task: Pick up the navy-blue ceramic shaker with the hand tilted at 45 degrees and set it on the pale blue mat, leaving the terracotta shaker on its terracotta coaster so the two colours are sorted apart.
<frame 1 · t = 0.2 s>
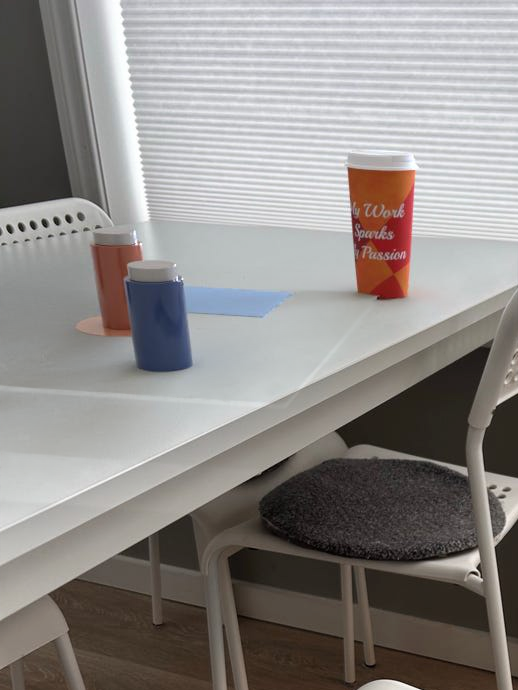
blue mat: (213, 303, 97), on the table
red shaker: (127, 324, 87), resting on terracotta coaster
terracotta coaster: (128, 328, 87), on the table
blue shaker: (165, 368, 77), on the table
paper cup: (383, 295, 105), on the table
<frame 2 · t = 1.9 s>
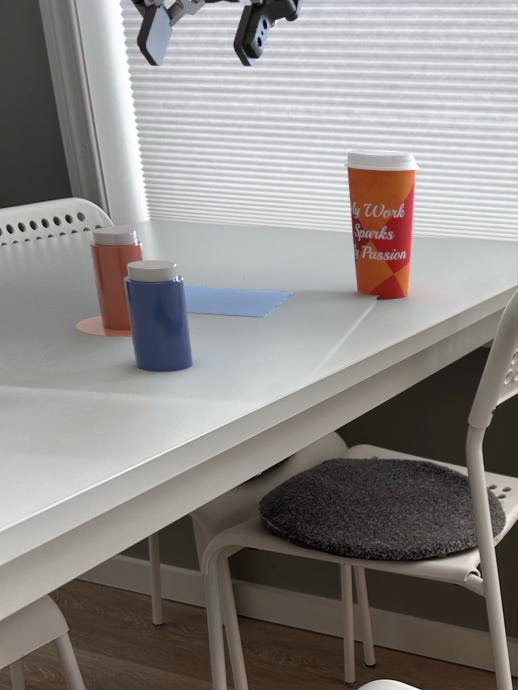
hand: (195, 58, 74), 22 cm above the table, tool tilted 40°, fingers open, 8 cm apart
nothing on the table moved.
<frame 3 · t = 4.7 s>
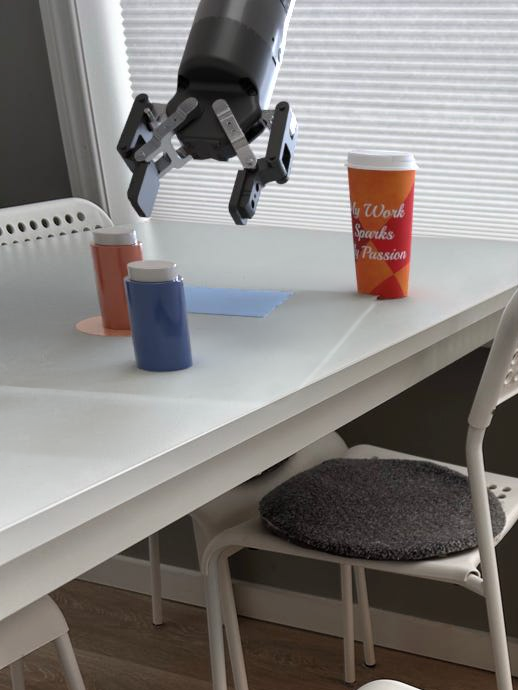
hand: (187, 214, 77), 11 cm above the table, tool tilted 45°, fingers open, 8 cm apart
nothing on the table moved.
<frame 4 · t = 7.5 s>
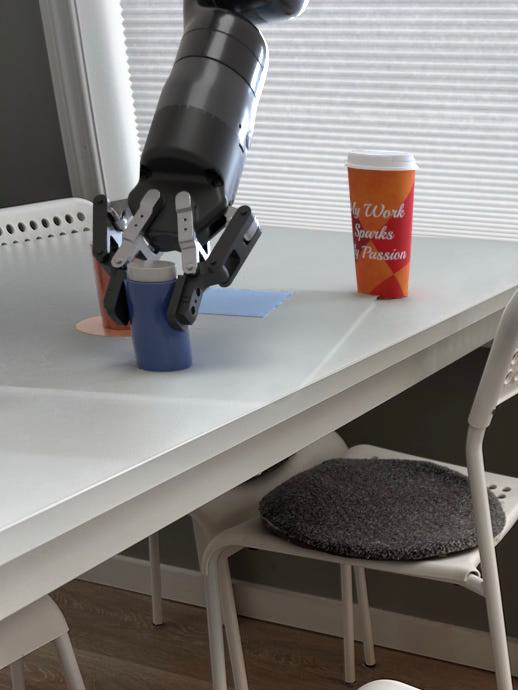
hand: (146, 321, 73), 4 cm above the table, tool tilted 45°, fingers closed on blue shaker, 4 cm apart
blue shaker: (165, 368, 77), on the table, touching gripper
everything else where it was.
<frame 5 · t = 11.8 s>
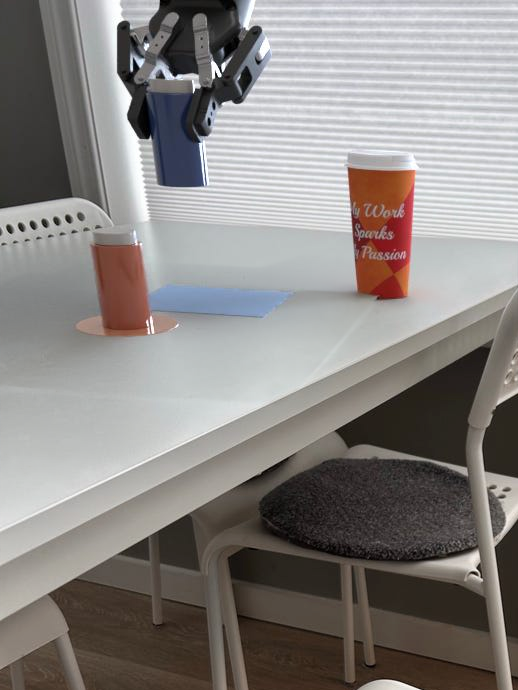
hand: (166, 133, 80), 16 cm above the table, tool tilted 45°, fingers closed on blue shaker, 4 cm apart
blue shaker: (183, 184, 83), point 12 cm above the table, touching gripper
everything else where it was.
when the fingers open (5 cm above the table, at t = 16.5 s): blue shaker stays where it is, resting on blue mat.
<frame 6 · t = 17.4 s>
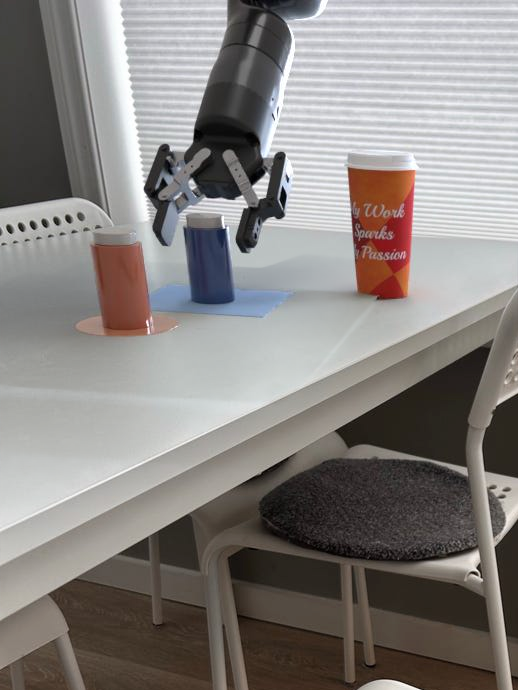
hand: (201, 244, 93), 6 cm above the table, tool tilted 45°, fingers open, 8 cm apart
blue shaker: (213, 299, 97), resting on blue mat
everything else where it was.
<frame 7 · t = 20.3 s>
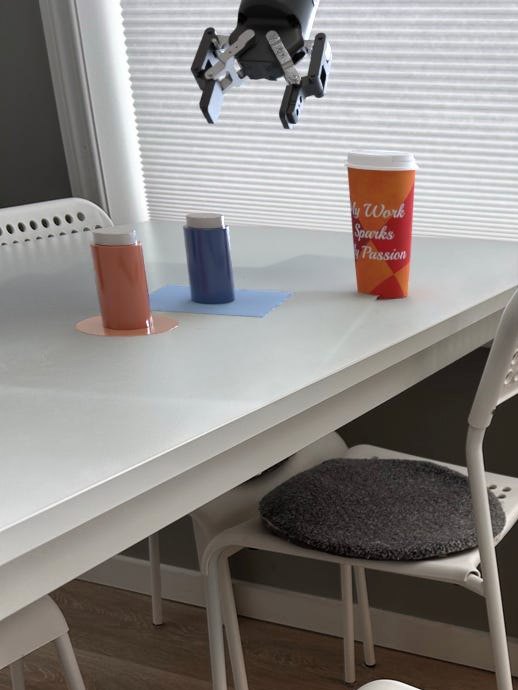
hand: (246, 120, 99), 16 cm above the table, tool tilted 45°, fingers open, 8 cm apart
nothing on the table moved.
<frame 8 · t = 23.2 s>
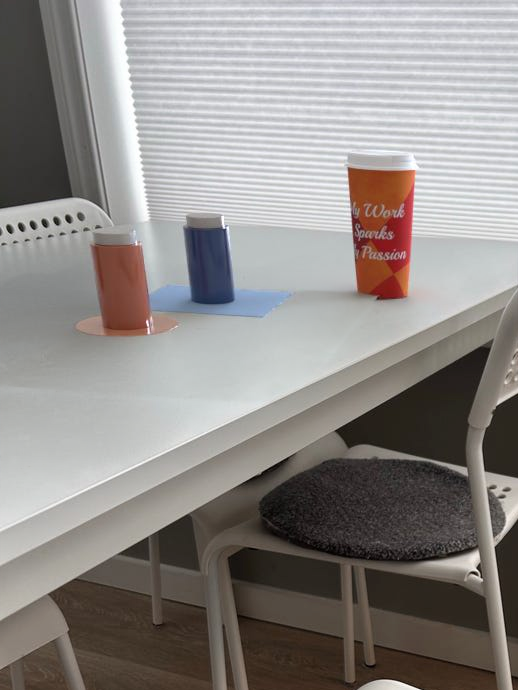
nothing on the table moved.
at the end: blue shaker inside the target area on the blue mat (0.1 cm from its centre), point 0.4 cm above the blue mat's base; blue shaker tilted 0°; red shaker moved 0.0 cm from its start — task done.
